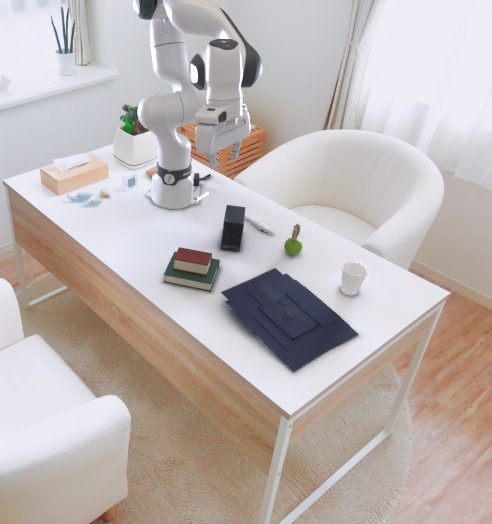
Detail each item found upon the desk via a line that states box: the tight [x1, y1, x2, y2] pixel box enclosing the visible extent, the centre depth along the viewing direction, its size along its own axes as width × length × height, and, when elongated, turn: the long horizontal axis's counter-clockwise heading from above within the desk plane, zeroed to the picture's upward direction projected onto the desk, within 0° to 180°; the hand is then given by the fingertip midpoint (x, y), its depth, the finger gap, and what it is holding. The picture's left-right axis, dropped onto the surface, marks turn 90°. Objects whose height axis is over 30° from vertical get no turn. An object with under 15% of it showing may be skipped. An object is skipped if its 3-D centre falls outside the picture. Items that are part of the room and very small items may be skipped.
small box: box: [219, 204, 246, 252], centre depth 181 cm, size 11×6×10 cm, turn 168°
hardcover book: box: [163, 251, 221, 293], centre depth 169 cm, size 12×14×3 cm
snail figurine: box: [283, 223, 303, 256], centre depth 176 cm, size 5×6×12 cm
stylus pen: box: [245, 214, 274, 236], centre depth 192 cm, size 15×3×2 cm, turn 36°
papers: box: [220, 267, 359, 372], centre depth 154 cm, size 24×30×4 cm
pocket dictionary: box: [173, 246, 213, 276], centre depth 167 cm, size 6×10×4 cm, turn 72°
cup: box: [340, 261, 368, 297], centre depth 163 cm, size 7×10×8 cm
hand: (224, 163), depth 150 cm, fingers open, 8 cm apart
